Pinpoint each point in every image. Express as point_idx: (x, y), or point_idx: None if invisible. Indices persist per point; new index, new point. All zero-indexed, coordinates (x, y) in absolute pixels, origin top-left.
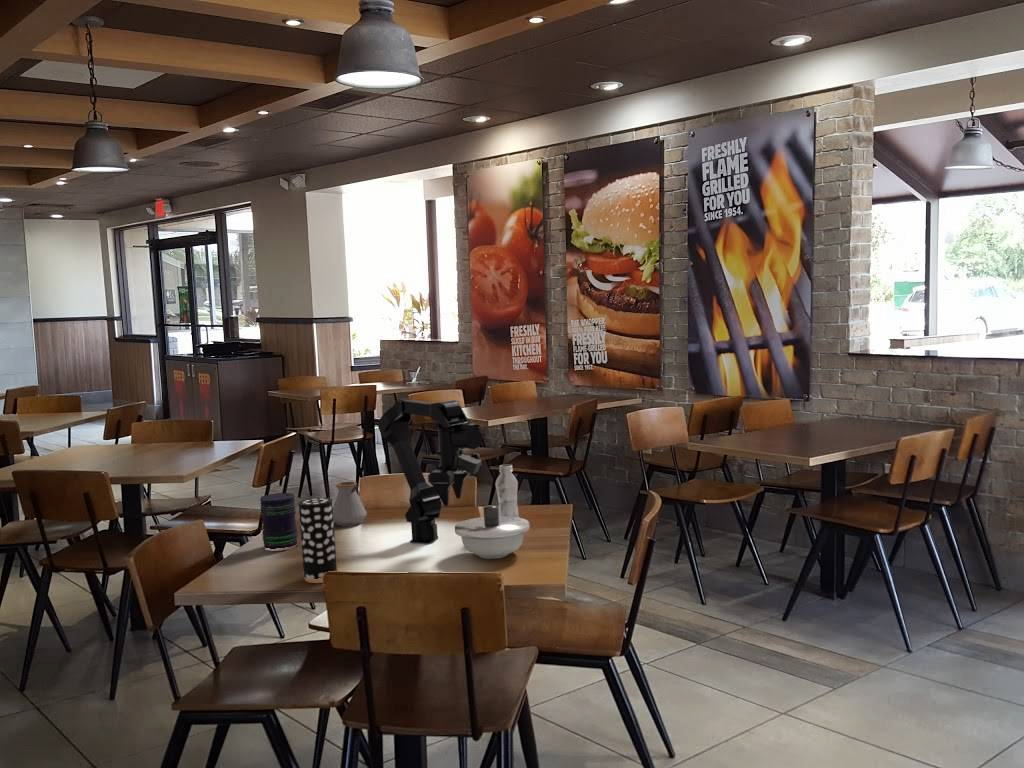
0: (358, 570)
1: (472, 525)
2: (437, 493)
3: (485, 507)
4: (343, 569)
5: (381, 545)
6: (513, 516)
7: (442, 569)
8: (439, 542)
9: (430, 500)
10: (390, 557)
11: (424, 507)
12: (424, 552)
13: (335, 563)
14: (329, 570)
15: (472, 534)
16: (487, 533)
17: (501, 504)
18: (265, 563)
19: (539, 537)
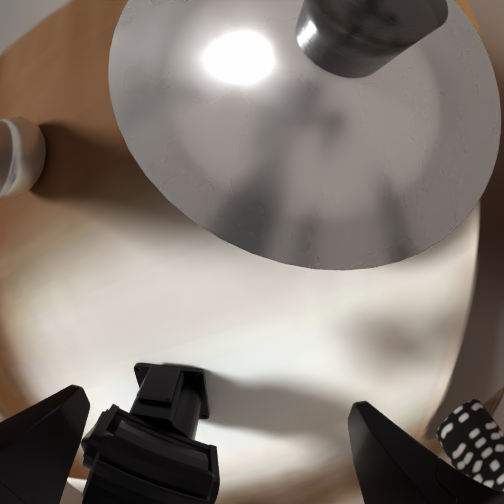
0: (435, 403)
1: (376, 153)
2: (95, 484)
3: (431, 15)
4: (421, 426)
5: (242, 452)
6: (3, 125)
7: (464, 222)
8: (176, 348)
9: (167, 490)
10: (351, 404)
11: (209, 480)
12: (301, 351)
13: (478, 418)
14: (485, 410)
15: (499, 124)
16: (479, 58)
17: None
18: (359, 500)
19: (76, 39)
